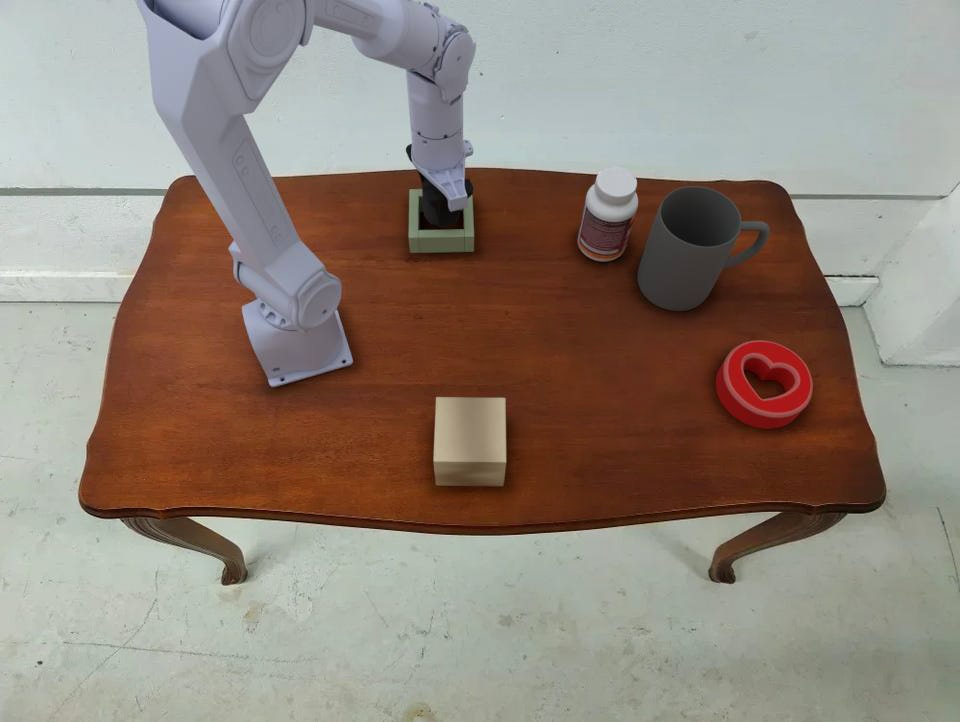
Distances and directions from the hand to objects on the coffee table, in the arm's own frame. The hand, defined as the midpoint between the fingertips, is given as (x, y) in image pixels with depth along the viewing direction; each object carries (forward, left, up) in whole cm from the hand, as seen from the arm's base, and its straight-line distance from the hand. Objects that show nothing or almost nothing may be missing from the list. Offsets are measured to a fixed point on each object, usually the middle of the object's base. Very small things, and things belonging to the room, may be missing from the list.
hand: (440, 209), depth 88 cm
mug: (+26, -18, -4) cm, 32 cm away
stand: (-7, -31, -4) cm, 32 cm away
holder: (0, 0, -4) cm, 4 cm away
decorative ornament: (+26, -34, -4) cm, 43 cm away
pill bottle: (+18, -9, -4) cm, 21 cm away
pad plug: (0, 0, -1) cm, 1 cm away
